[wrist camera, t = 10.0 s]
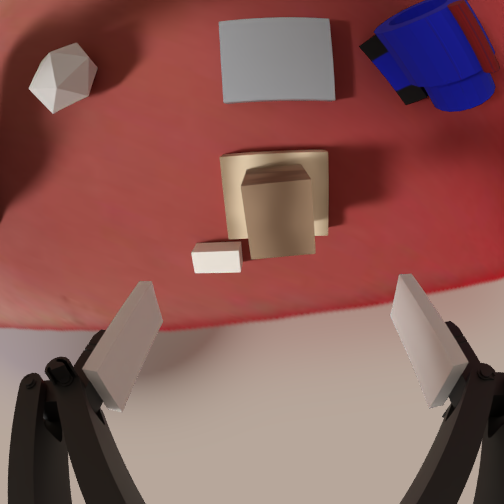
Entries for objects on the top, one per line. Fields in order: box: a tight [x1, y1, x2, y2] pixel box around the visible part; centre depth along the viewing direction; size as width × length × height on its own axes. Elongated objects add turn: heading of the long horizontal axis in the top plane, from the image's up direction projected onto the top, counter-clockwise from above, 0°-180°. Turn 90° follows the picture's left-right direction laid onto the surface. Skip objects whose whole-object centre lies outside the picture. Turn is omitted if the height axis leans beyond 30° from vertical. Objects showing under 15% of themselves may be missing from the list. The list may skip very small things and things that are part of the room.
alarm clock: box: [359, 0, 500, 112], centre depth 19 cm, size 12×12×15 cm
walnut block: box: [241, 164, 315, 259], centre depth 29 cm, size 6×7×8 cm
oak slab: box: [220, 150, 329, 239], centre depth 34 cm, size 12×10×3 cm
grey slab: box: [219, 17, 335, 104], centre depth 27 cm, size 12×10×3 cm
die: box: [29, 43, 98, 114], centre depth 26 cm, size 8×9×10 cm
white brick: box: [191, 241, 243, 273], centre depth 38 cm, size 6×3×3 cm, turn 94°
